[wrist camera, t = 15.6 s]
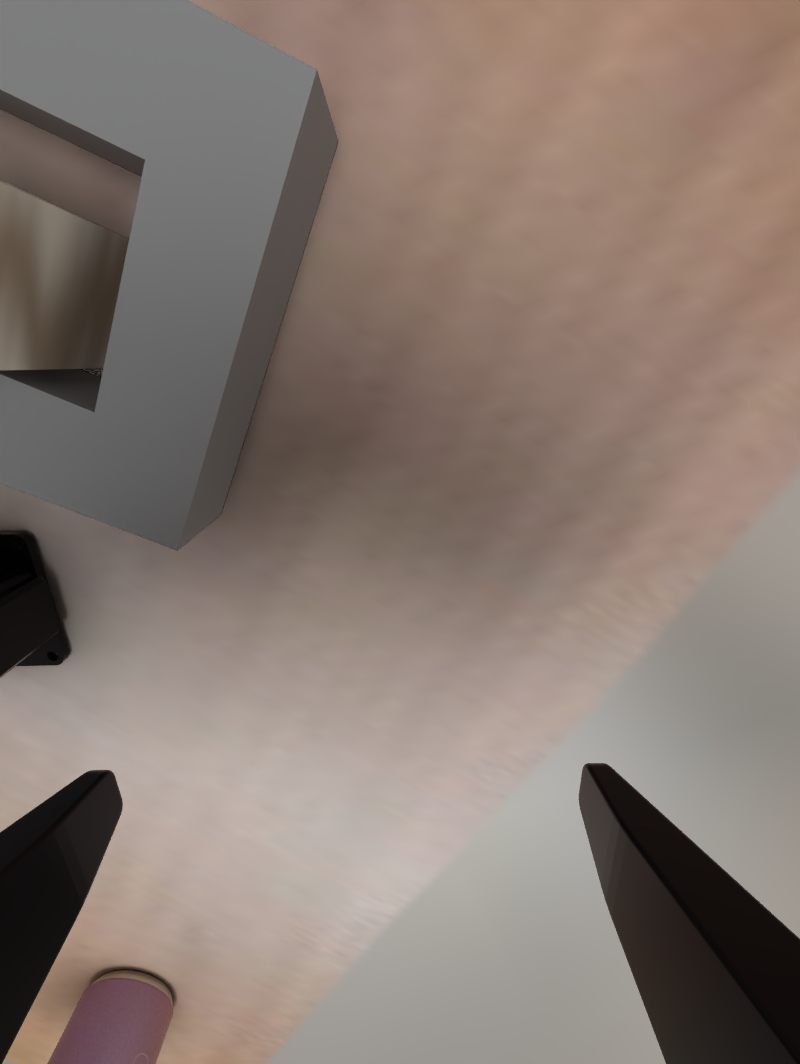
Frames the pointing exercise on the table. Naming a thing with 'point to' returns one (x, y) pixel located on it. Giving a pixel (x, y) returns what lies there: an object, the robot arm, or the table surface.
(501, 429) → the table surface
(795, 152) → the table surface
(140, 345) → the socket block
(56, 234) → the peg
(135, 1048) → the beverage can
